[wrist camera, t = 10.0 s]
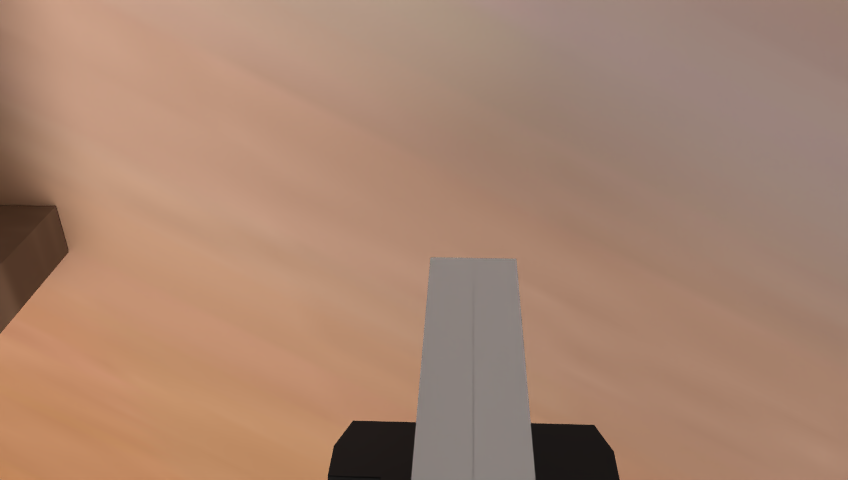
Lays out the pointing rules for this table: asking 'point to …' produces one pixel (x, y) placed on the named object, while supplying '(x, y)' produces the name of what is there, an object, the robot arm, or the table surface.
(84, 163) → the table surface
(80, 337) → the table surface
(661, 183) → the table surface
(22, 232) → the bridge
